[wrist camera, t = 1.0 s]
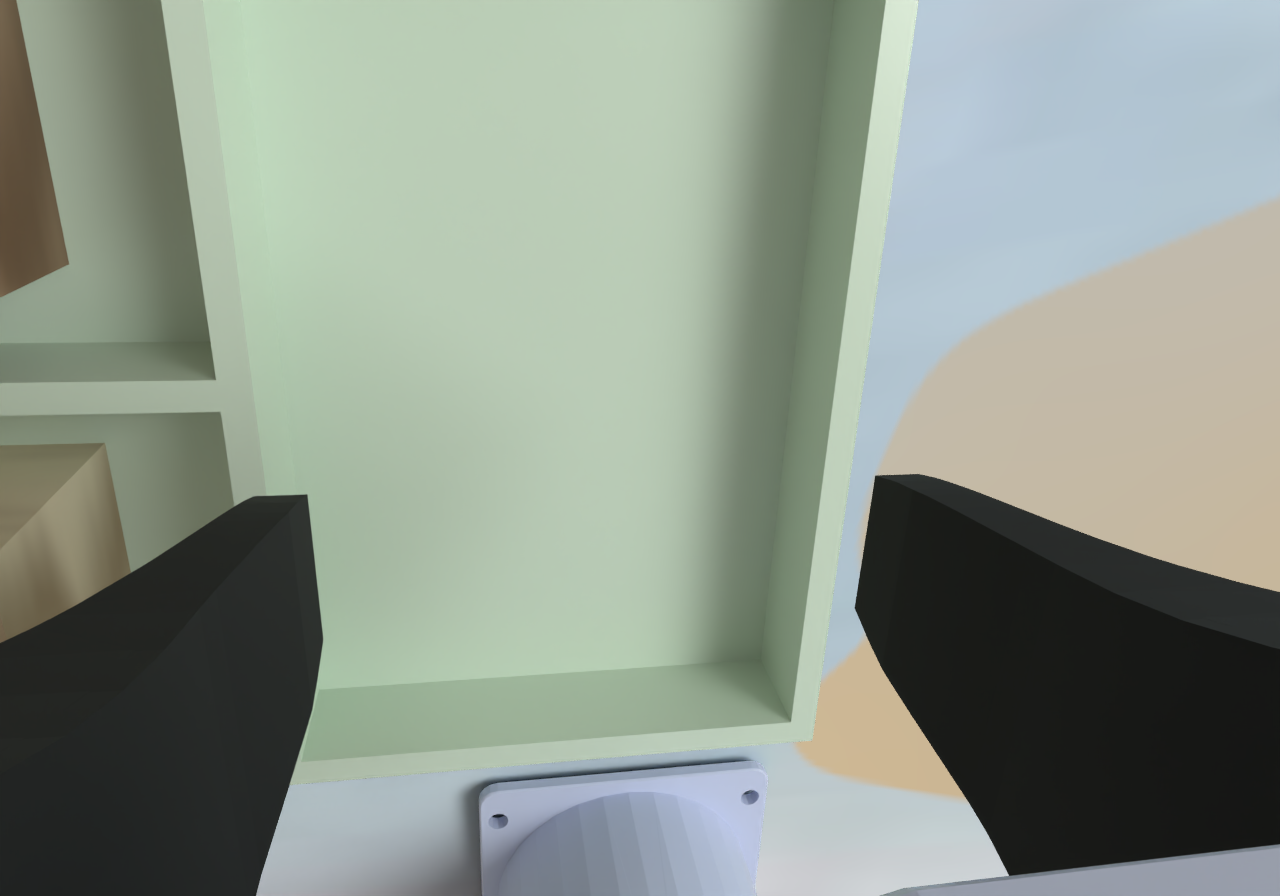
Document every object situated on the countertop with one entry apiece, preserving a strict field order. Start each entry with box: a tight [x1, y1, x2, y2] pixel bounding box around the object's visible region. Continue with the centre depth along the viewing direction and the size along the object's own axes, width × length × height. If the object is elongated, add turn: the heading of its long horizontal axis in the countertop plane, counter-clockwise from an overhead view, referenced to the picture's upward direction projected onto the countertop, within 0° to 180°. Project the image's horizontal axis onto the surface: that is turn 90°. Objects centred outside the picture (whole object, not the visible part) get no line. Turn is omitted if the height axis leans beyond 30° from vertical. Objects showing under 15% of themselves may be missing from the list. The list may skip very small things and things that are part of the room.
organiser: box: [0, 0, 919, 785], centre depth 18 cm, size 18×24×3 cm
